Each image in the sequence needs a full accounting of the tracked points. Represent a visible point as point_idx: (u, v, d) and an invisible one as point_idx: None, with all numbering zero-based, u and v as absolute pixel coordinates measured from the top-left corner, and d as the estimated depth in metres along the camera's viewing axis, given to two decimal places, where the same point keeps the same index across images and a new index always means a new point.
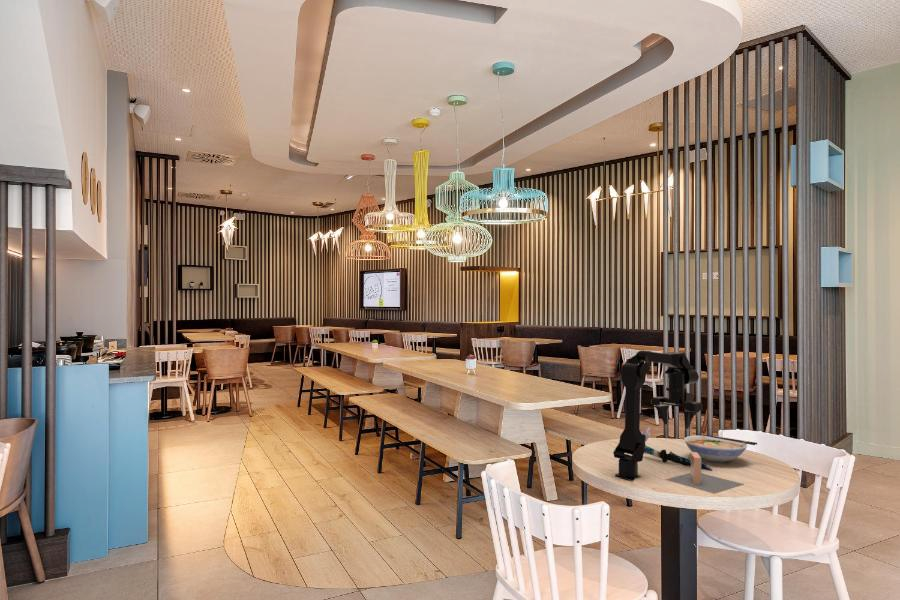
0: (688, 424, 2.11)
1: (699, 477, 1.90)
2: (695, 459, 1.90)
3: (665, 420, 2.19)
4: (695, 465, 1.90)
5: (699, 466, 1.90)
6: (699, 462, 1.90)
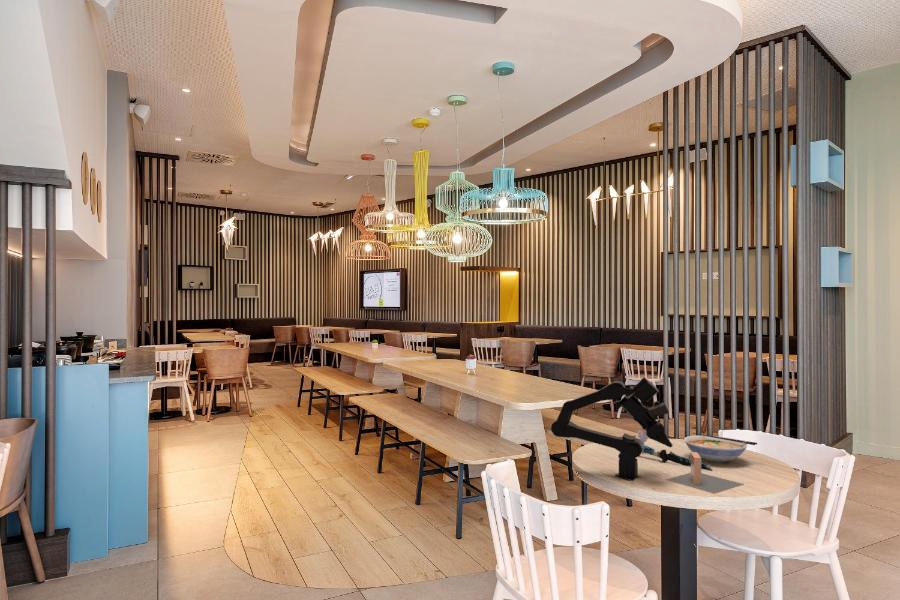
0: (667, 443, 1.92)
1: (699, 477, 1.90)
2: (695, 459, 1.90)
3: None
4: (695, 465, 1.90)
5: (699, 466, 1.90)
6: (699, 462, 1.90)
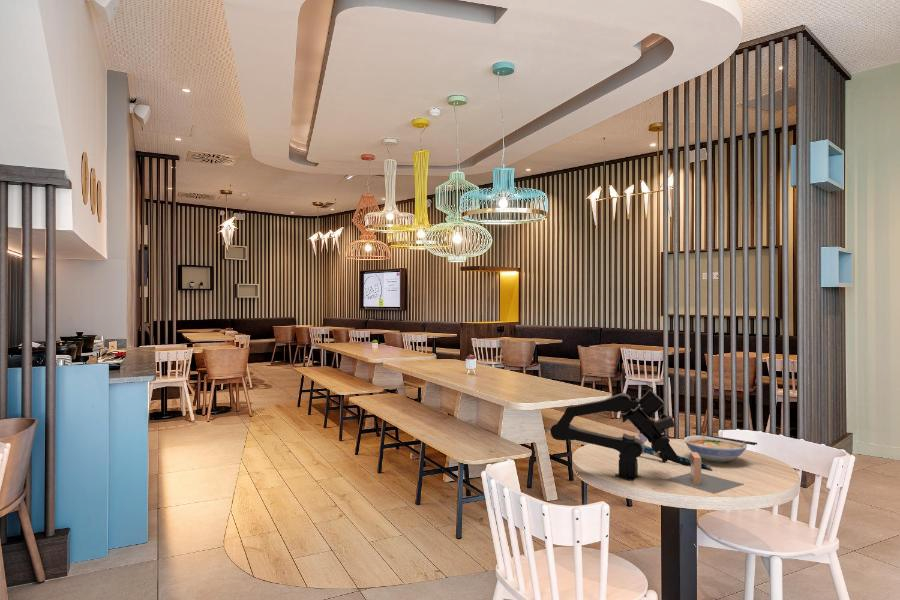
0: (672, 454, 1.95)
1: (699, 477, 1.90)
2: (695, 459, 1.90)
3: None
4: (695, 465, 1.90)
5: (699, 466, 1.90)
6: (699, 462, 1.90)
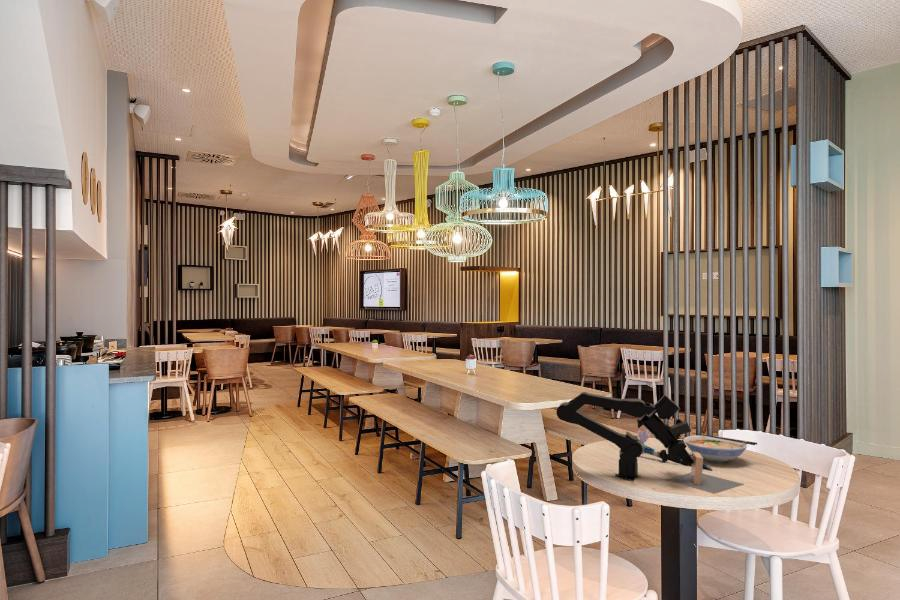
0: (688, 460, 1.93)
1: (700, 477, 1.90)
2: (697, 459, 1.90)
3: None
4: (697, 465, 1.90)
5: (700, 466, 1.90)
6: (701, 462, 1.90)
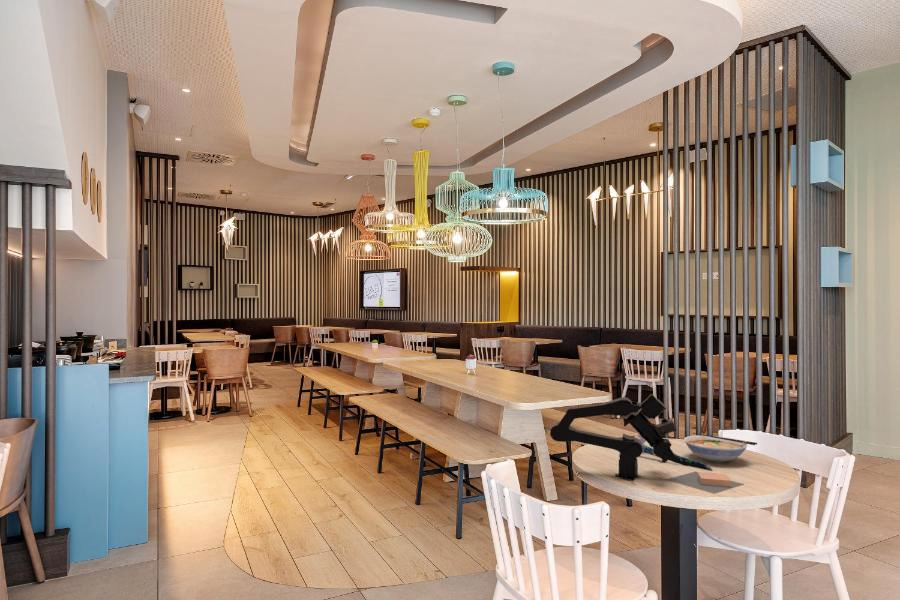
0: (673, 459, 1.95)
1: (709, 484, 1.89)
2: (728, 481, 1.87)
3: None
4: (722, 481, 1.88)
5: (721, 485, 1.88)
6: (725, 485, 1.87)
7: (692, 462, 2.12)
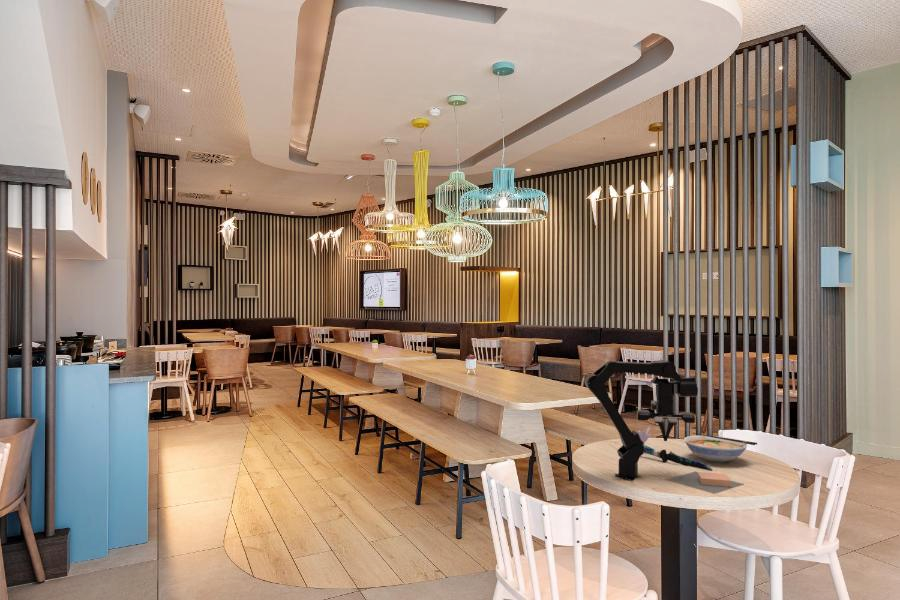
0: None
1: (709, 484, 1.89)
2: (728, 481, 1.87)
3: (665, 436, 1.99)
4: (722, 481, 1.88)
5: (721, 485, 1.88)
6: (725, 485, 1.87)
7: (692, 462, 2.12)
